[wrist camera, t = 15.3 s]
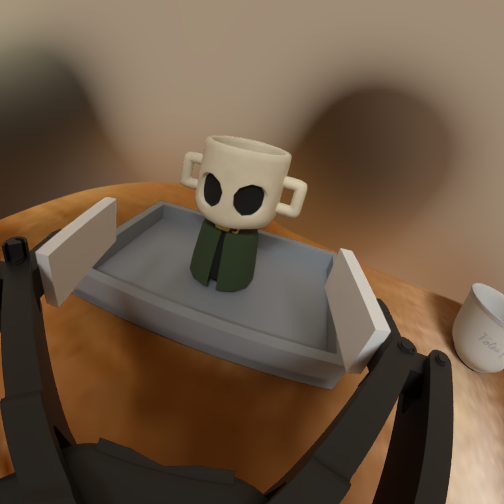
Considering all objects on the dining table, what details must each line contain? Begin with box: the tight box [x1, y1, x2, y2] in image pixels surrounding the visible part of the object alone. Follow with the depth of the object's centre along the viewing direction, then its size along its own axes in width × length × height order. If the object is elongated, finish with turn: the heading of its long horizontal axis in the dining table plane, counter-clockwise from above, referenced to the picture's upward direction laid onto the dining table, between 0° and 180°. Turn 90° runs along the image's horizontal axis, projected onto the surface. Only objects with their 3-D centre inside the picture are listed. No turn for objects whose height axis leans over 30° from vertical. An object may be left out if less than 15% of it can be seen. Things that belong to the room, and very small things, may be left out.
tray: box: [71, 201, 346, 390], centre depth 28 cm, size 24×18×3 cm
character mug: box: [181, 135, 307, 292], centre depth 25 cm, size 11×7×13 cm, turn 76°
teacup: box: [452, 283, 504, 373], centre depth 24 cm, size 14×11×8 cm
